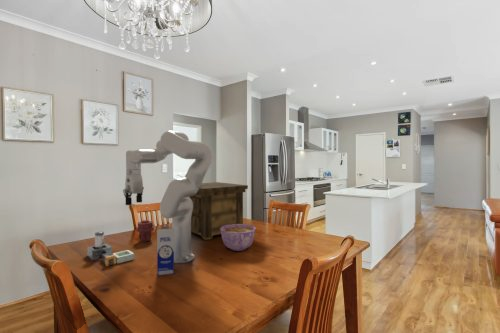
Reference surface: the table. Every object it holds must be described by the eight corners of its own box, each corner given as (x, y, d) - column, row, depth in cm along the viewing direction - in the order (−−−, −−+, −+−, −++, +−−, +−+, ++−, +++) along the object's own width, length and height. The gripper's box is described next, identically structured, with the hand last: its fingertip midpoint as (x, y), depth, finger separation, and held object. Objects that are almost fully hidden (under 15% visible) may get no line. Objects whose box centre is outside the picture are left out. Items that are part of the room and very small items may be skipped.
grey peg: (105, 255, 138) (104, 232, 138) (96, 257, 135) (96, 234, 135) (102, 253, 141) (102, 231, 140) (94, 255, 138) (93, 232, 138)
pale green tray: (134, 259, 133) (134, 253, 133) (117, 263, 127) (117, 257, 127) (128, 255, 139) (128, 249, 139) (111, 259, 133) (111, 253, 133)
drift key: (115, 264, 126) (115, 255, 126) (106, 266, 124) (106, 257, 123) (108, 258, 133) (108, 250, 133) (100, 260, 131) (99, 252, 131)
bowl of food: (252, 256, 138) (252, 233, 138) (215, 253, 142) (215, 231, 142) (258, 244, 158) (258, 224, 157) (226, 242, 162) (226, 223, 161)
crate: (247, 232, 183) (247, 185, 182) (203, 243, 159) (203, 188, 158) (217, 223, 208) (217, 182, 208) (176, 231, 185) (176, 184, 184)
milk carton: (157, 275, 114) (156, 229, 113) (157, 269, 120) (157, 225, 120) (174, 273, 116) (174, 228, 115) (174, 267, 122) (174, 224, 122)
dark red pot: (141, 238, 170) (156, 238, 169) (133, 242, 160) (149, 243, 159) (141, 218, 169) (156, 219, 168) (133, 222, 159) (149, 222, 158)
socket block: (111, 255, 138) (111, 247, 138) (92, 260, 131) (92, 251, 131) (106, 251, 144) (106, 243, 144) (87, 255, 138) (87, 247, 138)
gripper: (130, 173, 138) (130, 206, 138) (148, 172, 155) (148, 201, 155) (117, 173, 139) (117, 206, 139) (136, 172, 156) (137, 201, 156)
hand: (134, 203), depth 147 cm, fingers open, 9 cm apart
